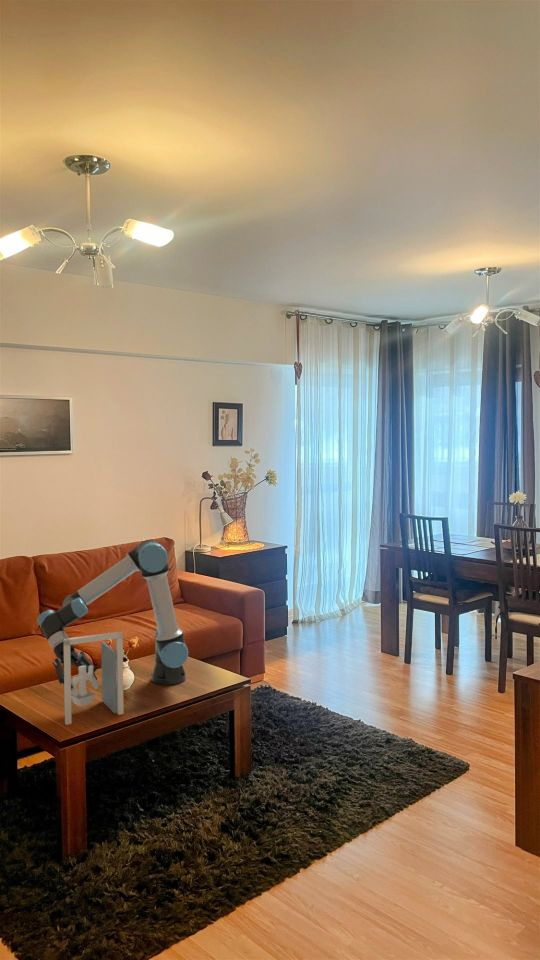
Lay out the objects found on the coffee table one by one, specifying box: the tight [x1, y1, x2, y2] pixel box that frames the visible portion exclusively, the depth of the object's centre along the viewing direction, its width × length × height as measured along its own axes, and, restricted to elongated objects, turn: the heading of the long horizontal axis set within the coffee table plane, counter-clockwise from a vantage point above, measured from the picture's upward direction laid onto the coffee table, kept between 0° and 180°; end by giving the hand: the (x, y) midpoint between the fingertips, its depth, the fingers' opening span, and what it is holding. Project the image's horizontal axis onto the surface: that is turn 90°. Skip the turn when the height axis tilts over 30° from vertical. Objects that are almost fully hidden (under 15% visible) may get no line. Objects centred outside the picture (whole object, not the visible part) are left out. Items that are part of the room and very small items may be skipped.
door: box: [100, 641, 117, 714], centre depth 276 cm, size 16×3×24 cm, turn 29°
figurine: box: [71, 665, 96, 707], centre depth 271 cm, size 7×9×15 cm
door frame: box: [63, 631, 125, 726], centre depth 264 cm, size 22×2×32 cm, turn 119°
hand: (87, 692), depth 270 cm, fingers closed on figurine, 9 cm apart
